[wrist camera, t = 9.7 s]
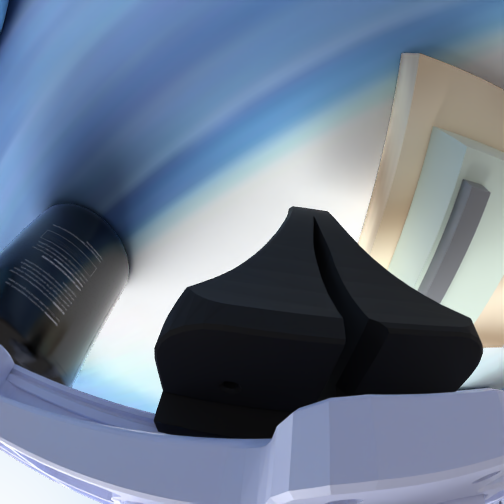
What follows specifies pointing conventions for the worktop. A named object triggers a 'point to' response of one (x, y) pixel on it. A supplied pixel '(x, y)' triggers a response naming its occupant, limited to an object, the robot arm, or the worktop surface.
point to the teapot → (3, 12)
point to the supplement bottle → (59, 290)
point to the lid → (455, 225)
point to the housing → (414, 151)
